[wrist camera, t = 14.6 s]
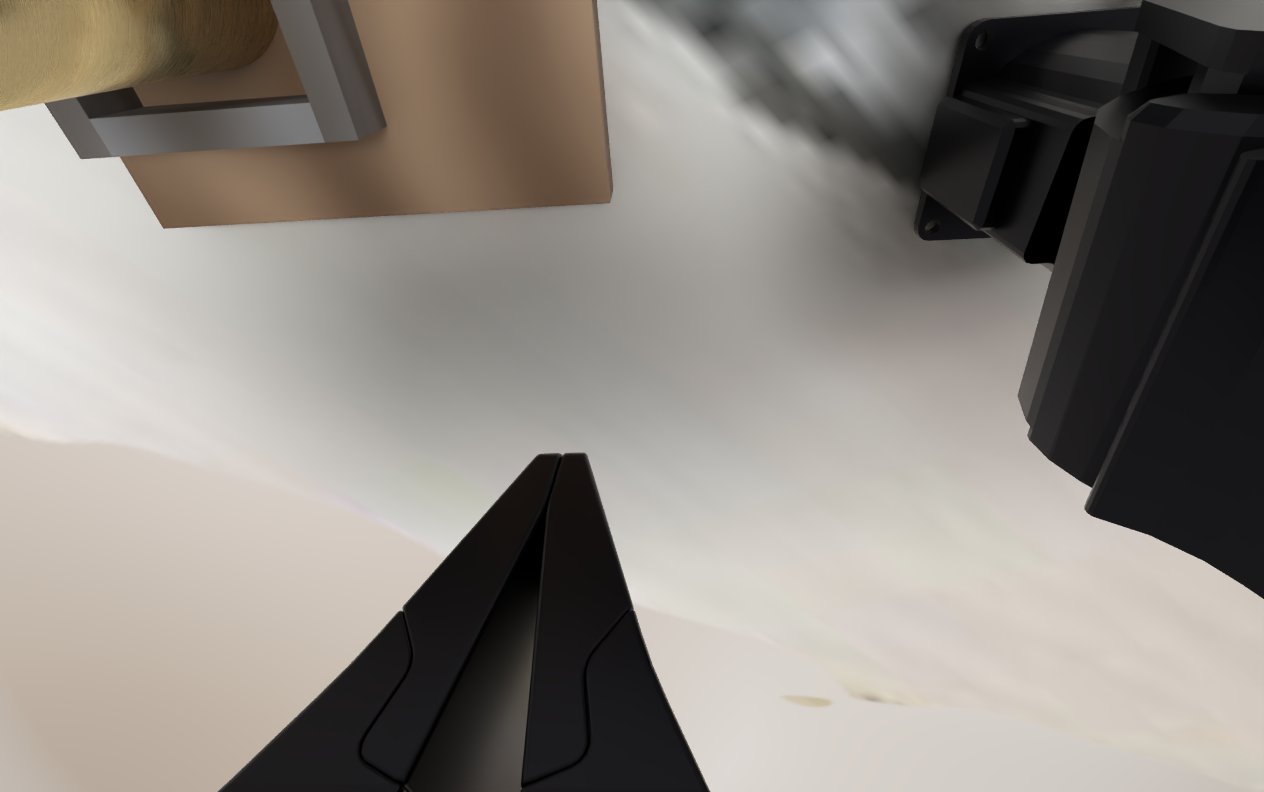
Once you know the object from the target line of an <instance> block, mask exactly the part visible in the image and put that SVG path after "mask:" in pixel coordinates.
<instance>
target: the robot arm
mask: <svg viewBox="0 0 1264 792" xmlns="http://www.w3.org/2000/svg"><path fill="white" fill-rule="evenodd" d="M985 30H986V31H987V33H988V37H987V40H986V42H985V44H984V45H983V46H982V47H981V48H979V49H977V48H976V46H975V43H976V39H977V37H978V35H979V34H980V33H981V32H982V31H985ZM919 186H920V187H921V189H922V194H921V198H920V202H919V206H918V210H917V214H916V218H915V222H914V231H915V233H916V234H917V235H918V236H919V237H920V238H922V239H923V240H928V241H932V240H952V239H972V238H993V239H995V240H996V241H997V242H999V243H1000V244H1001V245H1003V246H1004V247H1006V248H1007V249H1008V250H1010V251H1011V252H1012V253H1014V254H1015V255H1016V256H1018V257H1019V258H1021V259H1022V260H1023V261H1025V262H1026V263H1030V264H1042V265H1043V266H1045V267H1046V268H1047V269H1049V270H1050V271H1052V275H1051V279H1050V282H1049V286H1048V289H1047V293H1046V296H1045V300H1044V303H1043V307H1042V311H1041V314H1040V318H1039V321H1038V325H1037V328H1036V332H1035V336H1034V339H1033V343H1032V346H1031V350H1030V353H1029V357H1028V361H1027V364H1026V368H1025V371H1024V375H1023V378H1022V382H1021V385H1020V389H1019V393H1018V398H1019V401H1020V404H1021V407H1022V410H1023V413H1024V416H1025V419H1026V421H1027V423H1028V424H1029V425H1030V429H1029V432H1028V438H1029V440H1030V441H1031V442H1032V443H1033V444H1034V445H1035V446H1036V447H1037V448H1038V449H1039V450H1040V451H1041V452H1042V453H1043V454H1044V455H1045V456H1046V457H1047V458H1048V459H1049V460H1050V461H1052V462H1053V463H1054V464H1056V465H1057V466H1059V467H1060V468H1062V469H1063V470H1065V471H1066V472H1068V473H1069V474H1070V475H1072V476H1073V477H1075V478H1076V479H1078V480H1079V481H1081V482H1082V483H1084V484H1086V485H1088V486H1090V487H1092V490H1091V492H1090V495H1089V497H1088V499H1087V501H1086V504H1085V510H1086V512H1087V513H1088V514H1090V515H1091V516H1093V517H1096V518H1099V519H1102V520H1105V521H1108V522H1111V523H1114V524H1117V525H1120V526H1123V527H1126V528H1129V529H1132V530H1136V531H1139V532H1142V533H1145V534H1148V535H1150V536H1153V537H1155V538H1157V539H1159V540H1161V541H1163V542H1165V543H1167V544H1169V545H1172V546H1174V547H1176V548H1178V549H1180V550H1182V551H1184V552H1186V553H1188V554H1190V555H1193V556H1195V557H1197V558H1199V559H1201V560H1203V561H1205V562H1207V563H1208V564H1210V565H1211V566H1213V567H1215V568H1216V569H1218V570H1220V571H1221V572H1223V573H1225V574H1226V575H1228V576H1229V577H1231V578H1233V579H1234V580H1236V581H1238V582H1239V583H1241V584H1242V585H1244V586H1245V587H1247V588H1248V589H1250V590H1251V591H1253V592H1254V593H1256V594H1257V595H1259V596H1260V597H1262V598H1263V599H1264V0H1142V4H1141V6H1139V7H1126V8H1113V9H1100V10H1087V11H1075V12H1062V13H1049V14H1036V15H1023V16H1011V17H998V18H985V19H981V20H977V21H976V22H974V23H973V24H971V25H970V26H969V27H968V28H967V30H966V31H965V32H964V34H963V36H962V39H961V42H960V45H959V49H958V53H957V57H956V61H955V65H954V69H953V73H952V77H951V81H950V85H949V88H948V92H947V96H946V97H945V98H944V100H943V101H942V102H941V103H940V104H939V105H938V107H937V111H936V115H935V119H934V123H933V127H932V131H931V135H930V139H929V143H928V147H927V151H926V155H925V159H924V163H923V167H922V171H921V175H920V179H919ZM932 220H936V223H935V225H934V227H932V228H931V229H929V230H925V227H926V225H927V223H929V222H930V221H932ZM218 792H710V790H709V788H708V786H707V784H706V782H705V780H704V777H703V775H702V773H701V771H700V769H699V767H698V765H697V762H696V760H695V758H694V756H693V754H692V752H691V749H690V747H689V745H688V743H687V741H686V739H685V737H684V734H683V733H682V730H681V728H680V726H679V724H678V722H677V719H676V717H675V715H674V713H673V711H672V709H671V707H670V705H669V702H668V700H667V698H666V695H665V693H664V691H663V688H662V686H661V684H660V682H659V679H658V677H657V674H656V672H655V670H654V667H653V665H652V662H651V659H650V656H649V653H648V650H647V647H646V644H645V641H644V639H643V636H642V633H641V629H640V626H639V623H638V619H637V616H636V613H635V611H634V608H633V604H632V601H631V597H630V594H629V591H628V587H627V584H626V581H625V578H624V574H623V571H622V568H621V564H620V561H619V558H618V555H617V551H616V548H615V545H614V541H613V538H612V535H611V532H610V528H609V525H608V522H607V518H606V515H605V512H604V509H603V505H602V502H601V499H600V495H599V492H598V489H597V486H596V482H595V479H594V476H593V472H592V469H591V466H590V463H589V459H588V456H587V454H586V453H565V454H564V455H563V456H562V455H561V454H559V453H547V454H539V455H537V456H536V457H535V458H534V459H533V460H532V462H531V463H530V464H529V465H528V466H527V467H526V468H525V469H524V471H523V472H522V473H521V474H520V475H519V476H518V477H517V478H516V480H515V481H514V482H513V483H512V484H511V485H510V486H509V487H508V489H507V490H506V491H505V492H504V493H503V494H502V495H501V496H500V498H499V499H498V500H497V501H496V502H495V503H494V504H493V506H492V507H491V508H490V509H489V510H488V511H487V512H486V513H485V515H484V516H483V517H482V518H481V519H480V520H479V521H478V522H477V524H476V525H475V526H474V527H473V528H472V529H471V530H470V531H469V533H468V534H467V535H466V536H465V537H464V538H463V539H462V540H461V542H460V543H459V544H458V545H457V546H456V547H455V548H454V549H453V551H452V552H451V553H450V554H449V555H448V556H447V557H446V559H445V560H444V561H443V562H442V563H441V564H440V565H439V566H438V568H437V569H436V570H435V571H434V572H433V573H432V574H431V576H430V577H429V578H428V579H427V580H426V581H425V582H424V583H423V584H422V586H421V587H420V588H419V589H418V590H417V591H416V592H415V593H414V595H413V596H412V597H411V598H410V599H409V600H408V601H407V602H406V604H405V605H404V606H403V611H399V612H397V613H396V615H395V616H394V617H393V618H392V619H391V620H390V621H389V623H388V624H387V625H386V626H385V627H384V628H383V629H382V630H381V632H380V633H379V634H378V635H377V636H376V637H375V638H374V639H373V640H372V641H371V642H370V643H369V644H368V646H367V647H366V648H365V649H364V650H363V651H362V652H361V653H360V654H359V655H358V656H357V657H356V658H355V660H354V661H353V662H352V663H351V664H350V665H349V666H348V667H347V668H346V669H345V670H344V671H343V672H342V673H341V674H340V675H339V676H338V677H337V678H336V679H335V680H334V681H333V682H332V683H331V684H330V685H329V686H328V687H327V688H326V689H325V690H324V691H323V692H322V693H321V694H320V695H319V696H318V697H317V698H316V699H314V701H312V702H311V703H310V704H309V705H308V706H307V707H306V708H305V709H304V710H303V711H302V712H301V713H300V714H299V715H298V716H297V717H296V718H295V719H294V720H293V721H292V722H290V723H289V724H288V725H287V726H286V727H285V728H284V729H283V730H282V731H281V732H280V733H279V734H278V735H277V736H276V737H275V738H274V739H273V740H272V741H271V742H270V743H269V744H267V745H266V746H265V747H264V748H263V749H262V750H261V751H260V752H259V753H258V754H257V755H256V756H255V757H254V758H253V759H252V760H251V761H250V762H249V763H248V764H247V765H246V766H245V767H244V768H242V769H241V770H240V771H239V772H238V773H237V774H236V775H235V776H234V777H233V778H232V779H231V780H230V781H229V782H228V783H227V784H225V785H224V786H223V787H222V788H221V789H220V790H219V791H218Z"/></svg>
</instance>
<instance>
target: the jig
mask: <svg viewBox="0 0 1264 792" xmlns="http://www.w3.org/2000/svg"><path fill="white" fill-rule="evenodd" d="M270 1H271V4H272V6H273V9H274V12H275V14H276V17H277V19H278V22H279V23H278V26H277V30H276V34H275V36H274V38H273V41H272V43H271V44H270V46H269V47H268V49H267V50H266V52H265V53H264V54H262V55H261V56H260V57H259V58H258V59H257V60H255V61H254V62H252V63H250V64H248V65H245V66H243V67H238V68H233V69H228V70H222V71H217V72H211V73H206V74H200V75H195V76H189V77H184V78H178V79H173V80H167V81H162V82H156V83H151V84H145V85H140V86H134V87H129V88H123V89H118V90H112V91H107V92H101V93H96V94H91V95H85V96H80V97H74V98H69V99H63V100H58V101H52V102H47V103H45V105H46V106H47V108H48V109H49V111H50V113H51V114H52V116H53V117H54V119H55V120H56V122H57V123H58V125H59V126H60V128H61V129H62V131H63V132H64V134H65V136H66V137H67V139H68V140H69V142H70V143H71V145H72V146H73V148H74V149H75V151H76V152H77V154H78V155H79V157H80V158H81V159H90V158H105V157H120V158H121V160H122V161H123V163H124V164H125V166H126V168H127V169H128V171H129V173H130V174H131V176H132V178H133V179H134V181H135V183H136V184H137V186H138V187H139V189H140V191H141V192H142V194H143V196H144V197H145V199H146V201H147V202H148V204H149V205H150V207H151V209H152V210H153V212H154V214H155V215H156V217H157V219H158V220H159V222H160V224H161V225H162V227H163V228H181V227H199V226H216V225H234V224H251V223H268V222H286V221H303V220H321V219H338V218H356V217H373V216H390V215H408V214H425V213H443V212H460V211H478V210H495V209H512V208H530V207H547V206H565V205H582V204H600V203H610V201H611V196H612V192H613V184H612V172H611V161H610V149H609V138H608V126H607V114H606V103H605V91H604V80H603V68H602V57H601V45H600V34H599V22H598V11H597V0H270Z"/></svg>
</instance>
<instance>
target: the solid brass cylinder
mask: <svg viewBox="0 0 1264 792" xmlns="http://www.w3.org/2000/svg"><path fill="white" fill-rule="evenodd" d="M278 23H279V22H278V19H277V17H276V14H275V12H274V9H273V6H272V4H271V1H270V0H0V111H3V110H8V109H14V108H19V107H25V106H30V105H36V104H41V103H47V102H52V101H58V100H63V99H69V98H74V97H80V96H85V95H91V94H96V93H101V92H107V91H112V90H118V89H123V88H129V87H134V86H140V85H145V84H151V83H156V82H162V81H167V80H173V79H178V78H184V77H189V76H195V75H200V74H206V73H211V72H217V71H222V70H228V69H233V68H238V67H243V66H245V65H248V64H250V63H252V62H254V61H255V60H257V59H258V58H259V57H260V56H261V55H262V54H264V53H265V52H266V50H267V49H268V47H269V46H270V44H271V43H272V41H273V38H274V36H275V34H276V30H277V26H278Z"/></svg>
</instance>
